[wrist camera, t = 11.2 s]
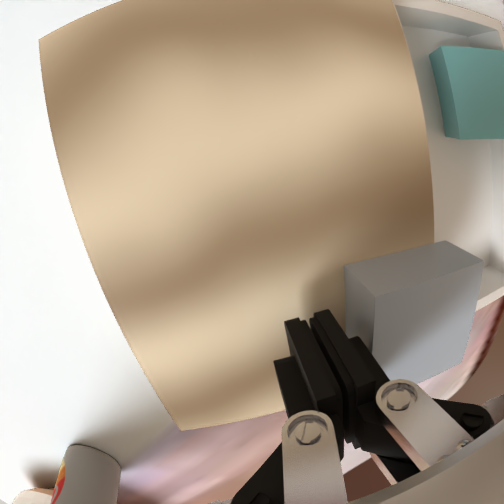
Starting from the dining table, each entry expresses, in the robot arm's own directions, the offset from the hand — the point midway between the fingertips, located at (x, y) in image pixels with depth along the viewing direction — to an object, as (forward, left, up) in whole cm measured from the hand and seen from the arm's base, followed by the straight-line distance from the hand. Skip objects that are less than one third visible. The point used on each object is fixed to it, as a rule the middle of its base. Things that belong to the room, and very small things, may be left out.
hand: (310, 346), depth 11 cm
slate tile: (0, +4, -1) cm, 4 cm away
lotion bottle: (+14, -20, -6) cm, 26 cm away
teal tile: (-9, +13, -2) cm, 15 cm away
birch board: (-5, 0, -6) cm, 8 cm away
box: (-5, +12, -6) cm, 14 cm away
